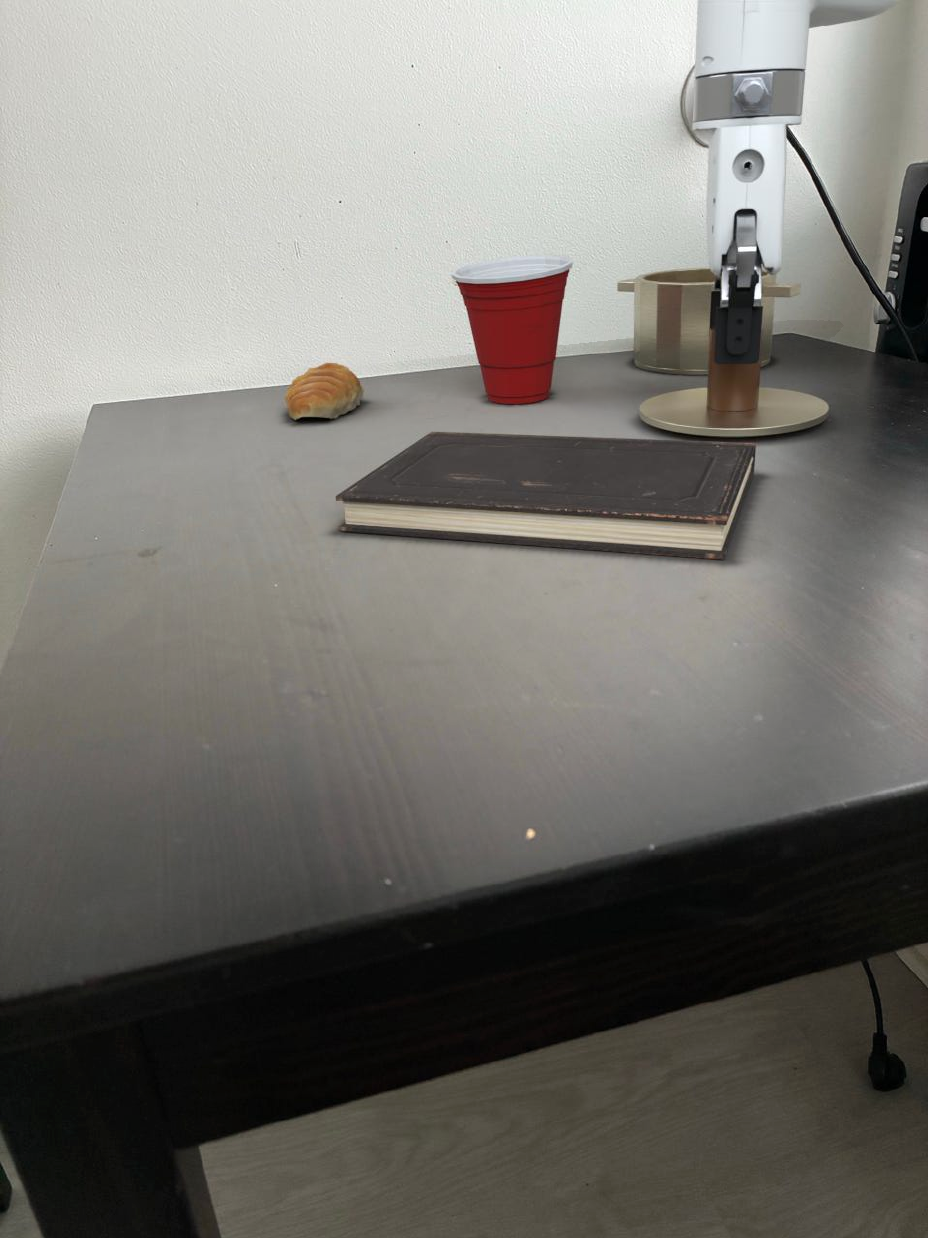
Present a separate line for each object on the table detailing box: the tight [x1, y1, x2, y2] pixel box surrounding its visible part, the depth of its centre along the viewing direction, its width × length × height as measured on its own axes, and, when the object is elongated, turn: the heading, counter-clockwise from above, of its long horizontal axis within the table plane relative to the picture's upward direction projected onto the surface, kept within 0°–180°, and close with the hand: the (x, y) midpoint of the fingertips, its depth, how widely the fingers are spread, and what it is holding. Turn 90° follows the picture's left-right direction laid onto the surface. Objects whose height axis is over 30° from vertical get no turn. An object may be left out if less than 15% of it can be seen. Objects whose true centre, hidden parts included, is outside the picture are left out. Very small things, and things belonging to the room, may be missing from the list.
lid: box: [638, 327, 830, 439], centre depth 78 cm, size 15×15×7 cm
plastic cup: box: [450, 254, 574, 405], centre depth 90 cm, size 11×11×12 cm
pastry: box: [284, 362, 365, 421], centre depth 90 cm, size 9×7×4 cm
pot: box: [616, 267, 802, 376], centre depth 101 cm, size 14×19×8 cm
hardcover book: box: [335, 431, 757, 561], centre depth 63 cm, size 16×23×2 cm
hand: (732, 351), depth 78 cm, fingers open, 9 cm apart
